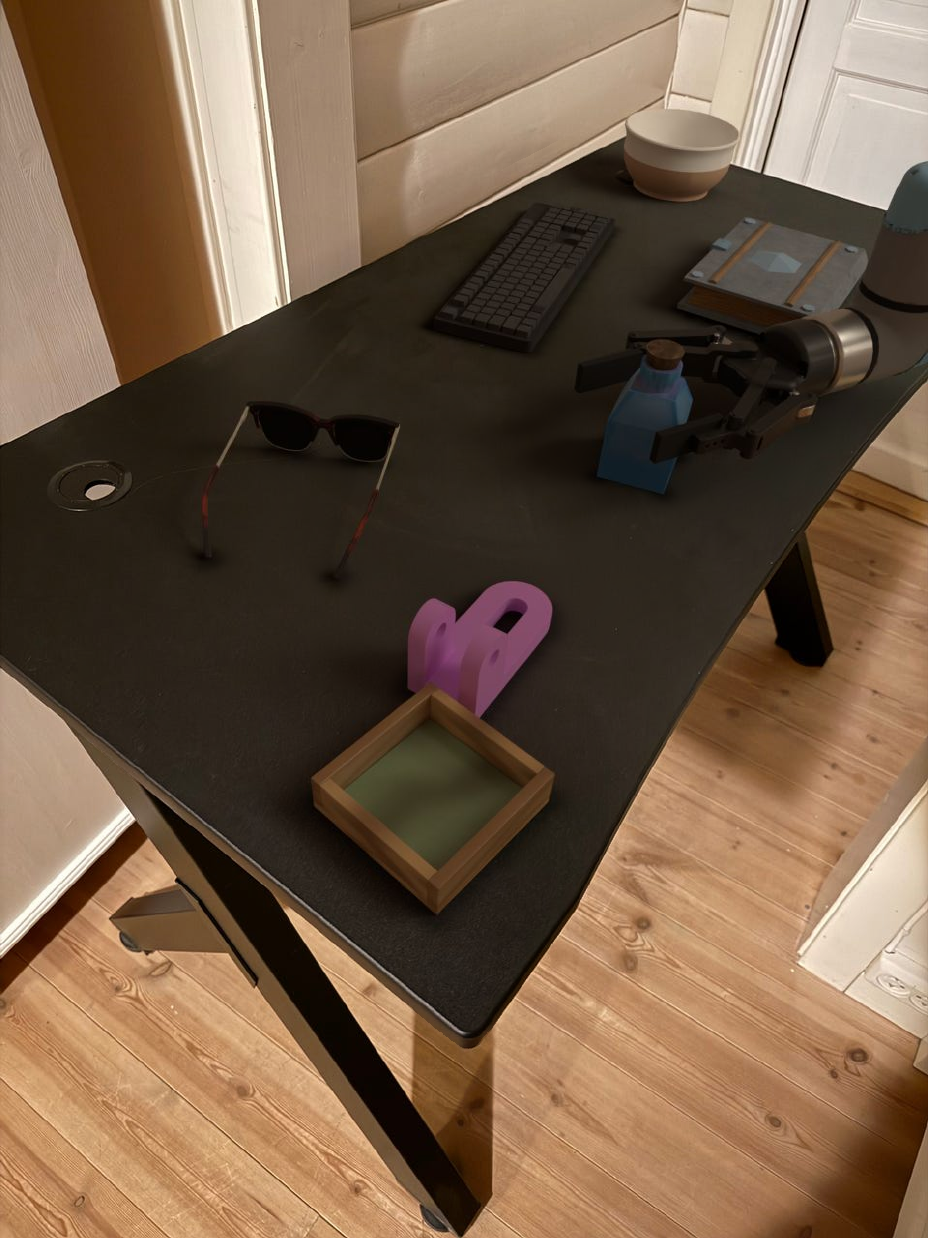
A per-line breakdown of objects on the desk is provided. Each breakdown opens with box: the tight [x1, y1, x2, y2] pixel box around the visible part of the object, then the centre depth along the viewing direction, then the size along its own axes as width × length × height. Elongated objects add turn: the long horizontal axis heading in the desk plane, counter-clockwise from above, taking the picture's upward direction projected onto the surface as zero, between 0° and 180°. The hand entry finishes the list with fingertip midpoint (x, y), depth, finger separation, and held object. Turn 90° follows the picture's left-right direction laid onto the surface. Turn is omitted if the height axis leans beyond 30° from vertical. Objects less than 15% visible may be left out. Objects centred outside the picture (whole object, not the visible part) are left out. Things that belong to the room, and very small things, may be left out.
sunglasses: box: [201, 400, 401, 580], centre depth 76 cm, size 14×16×5 cm
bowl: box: [623, 108, 741, 203], centre depth 128 cm, size 16×16×8 cm
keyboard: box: [434, 202, 616, 354], centre depth 109 cm, size 35×11×2 cm, turn 159°
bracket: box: [407, 580, 553, 719], centre depth 65 cm, size 13×6×7 cm, turn 148°
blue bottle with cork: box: [596, 340, 694, 495], centre depth 79 cm, size 6×6×12 cm
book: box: [676, 216, 869, 335], centre depth 107 cm, size 21×16×5 cm
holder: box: [310, 682, 556, 915], centre depth 56 cm, size 11×11×3 cm
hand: (615, 411), depth 77 cm, fingers open, 11 cm apart
